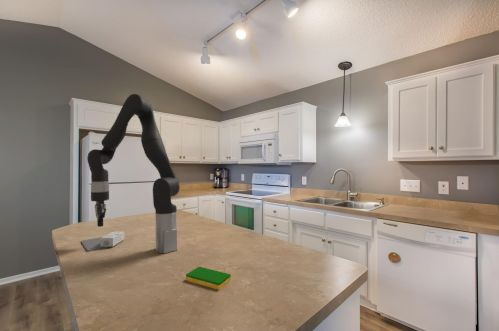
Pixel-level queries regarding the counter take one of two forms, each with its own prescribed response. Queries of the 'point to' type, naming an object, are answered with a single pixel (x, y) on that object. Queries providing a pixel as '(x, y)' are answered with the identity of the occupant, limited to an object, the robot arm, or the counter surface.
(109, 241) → the skincare box
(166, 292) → the counter surface
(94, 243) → the mat
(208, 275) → the dish sponge
